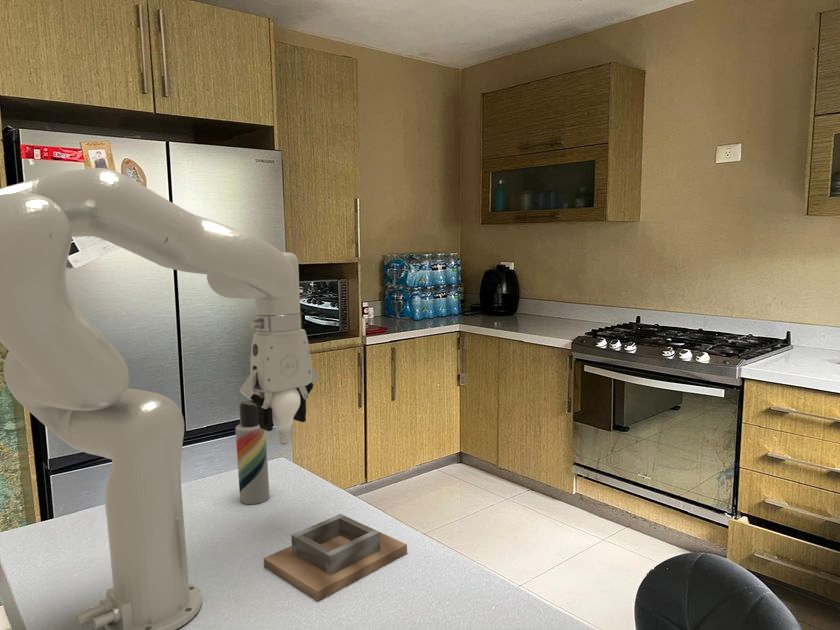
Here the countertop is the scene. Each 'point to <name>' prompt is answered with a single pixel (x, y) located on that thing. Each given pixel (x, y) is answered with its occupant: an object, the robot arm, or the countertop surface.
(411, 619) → the countertop surface
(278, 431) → the lightbulb
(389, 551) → the lamp socket
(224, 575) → the countertop surface
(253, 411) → the lotion bottle
